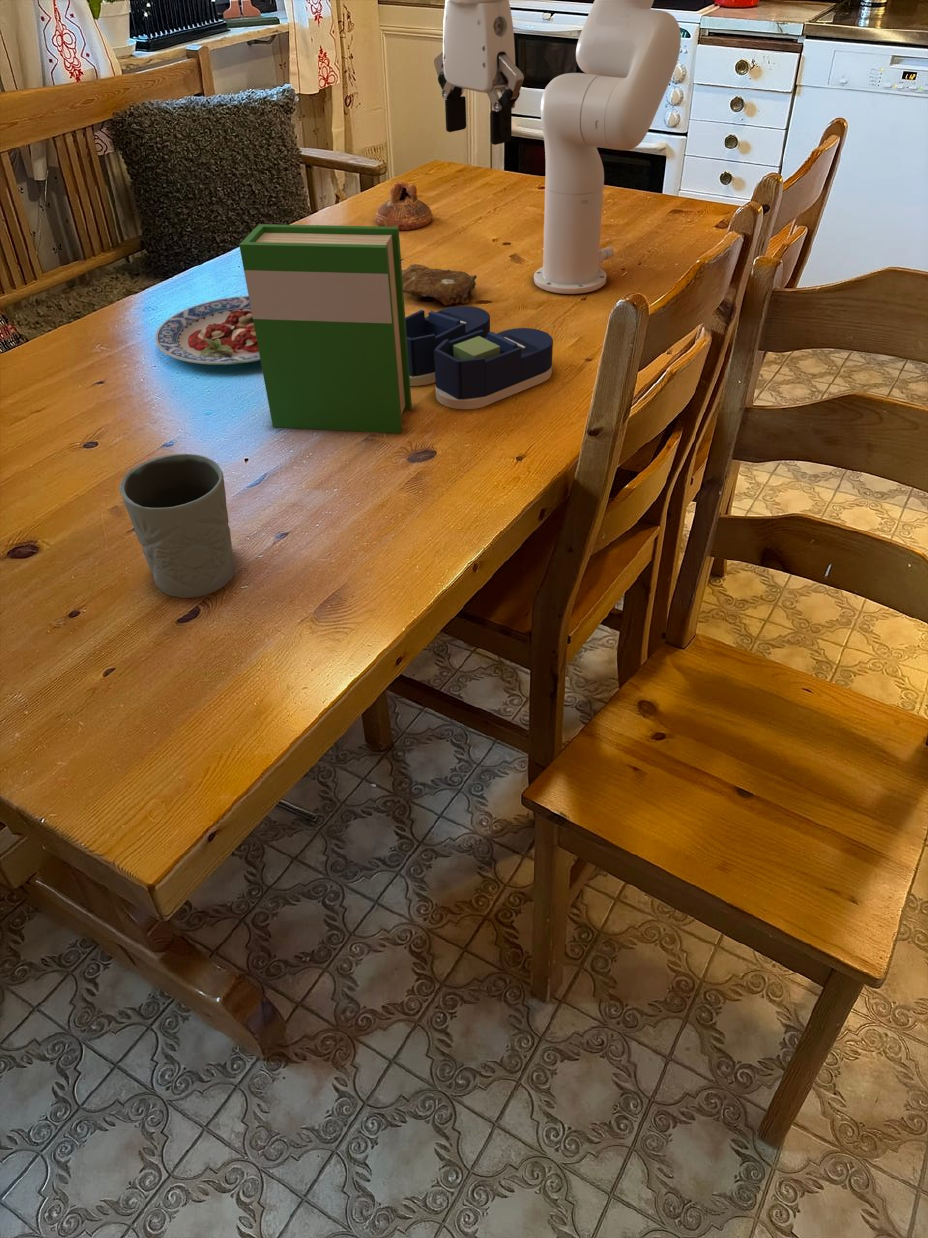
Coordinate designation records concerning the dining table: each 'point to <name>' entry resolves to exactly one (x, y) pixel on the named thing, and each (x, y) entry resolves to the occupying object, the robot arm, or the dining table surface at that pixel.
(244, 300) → the ceramic plate
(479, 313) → the sneaker
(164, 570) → the grey embossed cup
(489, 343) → the green block
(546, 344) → the sneaker
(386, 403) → the hardback book
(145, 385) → the dining table surface
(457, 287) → the decorative rock
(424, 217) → the bell
